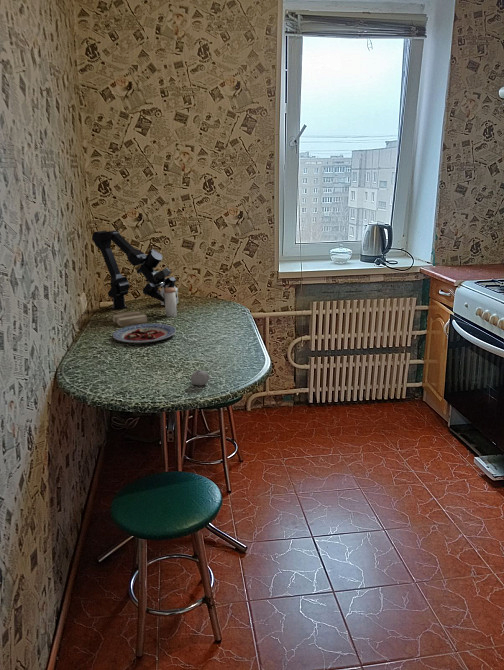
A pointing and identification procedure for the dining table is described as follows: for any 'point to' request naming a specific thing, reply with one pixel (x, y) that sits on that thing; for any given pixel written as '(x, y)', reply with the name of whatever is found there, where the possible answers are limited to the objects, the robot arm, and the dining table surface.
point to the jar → (170, 301)
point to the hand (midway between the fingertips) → (170, 299)
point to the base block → (129, 318)
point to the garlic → (199, 377)
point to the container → (164, 296)
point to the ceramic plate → (144, 333)
